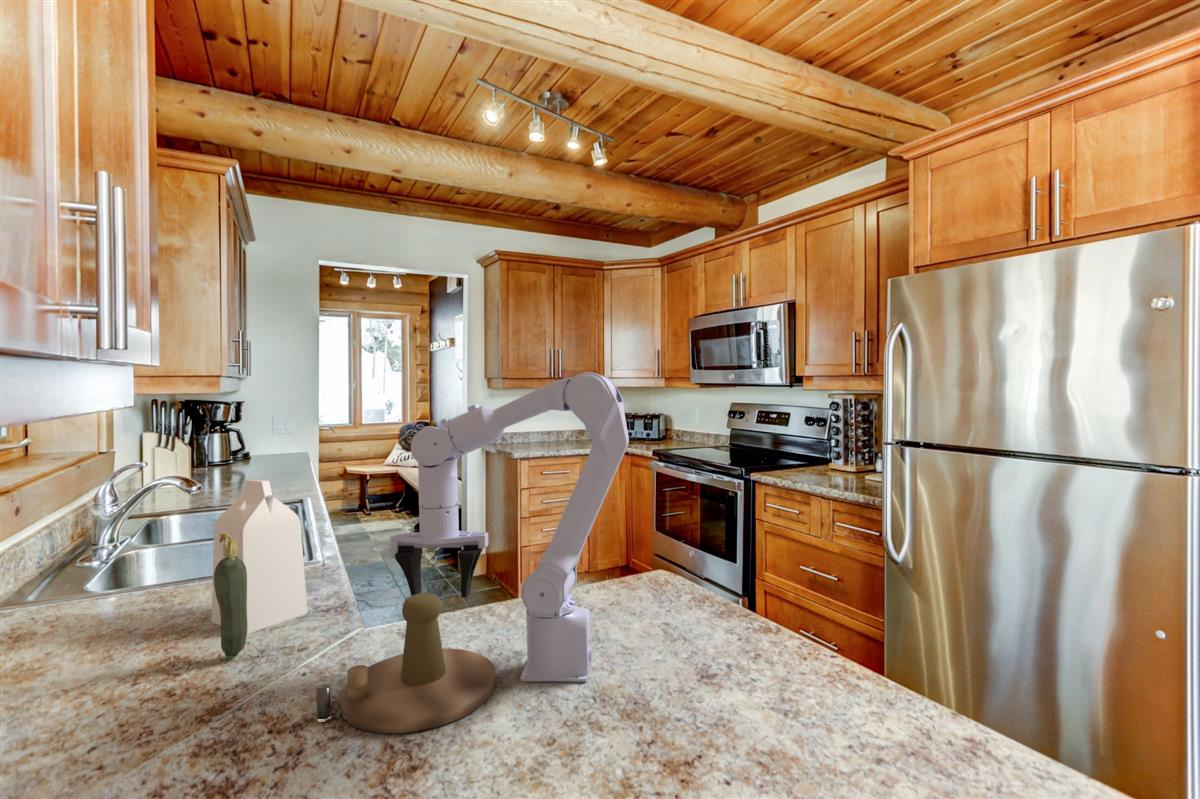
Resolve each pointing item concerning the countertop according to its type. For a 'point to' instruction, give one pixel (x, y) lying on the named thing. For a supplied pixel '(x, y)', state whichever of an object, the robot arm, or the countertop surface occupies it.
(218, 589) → the vegetable
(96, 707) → the countertop surface
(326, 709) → the dark gray cylinder
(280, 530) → the milk
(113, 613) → the countertop surface
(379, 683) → the disc
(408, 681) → the olive pawn piece
